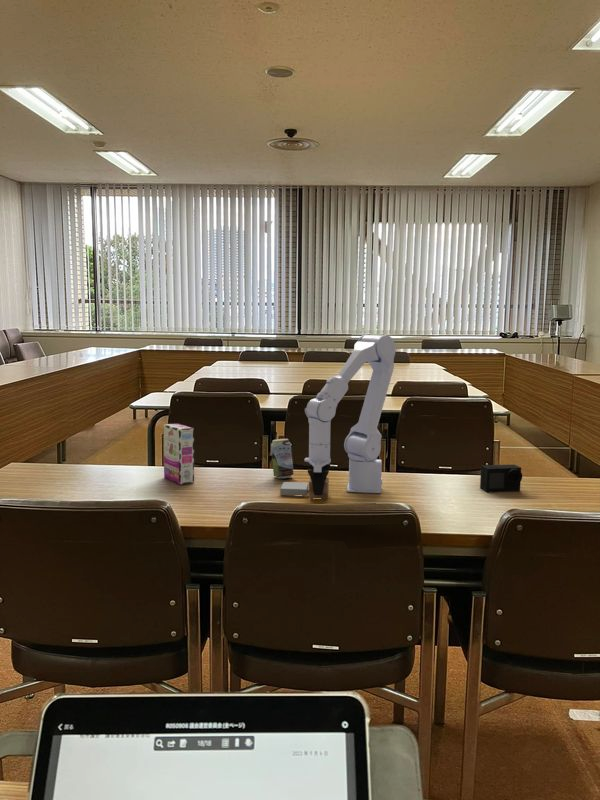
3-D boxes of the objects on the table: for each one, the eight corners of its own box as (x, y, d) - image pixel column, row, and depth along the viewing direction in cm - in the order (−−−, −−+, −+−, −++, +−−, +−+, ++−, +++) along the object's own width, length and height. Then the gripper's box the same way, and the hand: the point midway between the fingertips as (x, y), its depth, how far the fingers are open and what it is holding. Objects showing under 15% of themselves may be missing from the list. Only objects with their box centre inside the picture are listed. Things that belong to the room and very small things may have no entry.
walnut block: (328, 495, 178) (328, 477, 178) (327, 500, 173) (327, 482, 173) (310, 494, 179) (310, 476, 178) (308, 499, 174) (309, 481, 173)
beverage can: (285, 481, 192) (285, 442, 190) (266, 477, 196) (266, 438, 195) (298, 477, 197) (298, 438, 195) (279, 473, 201) (279, 435, 200)
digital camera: (488, 493, 182) (489, 469, 181) (479, 488, 187) (480, 465, 186) (522, 492, 183) (523, 468, 182) (513, 487, 189) (514, 464, 188)
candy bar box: (195, 483, 190) (194, 427, 187) (179, 485, 187) (179, 429, 184) (178, 475, 198) (177, 422, 196) (163, 477, 195) (162, 424, 193)
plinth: (308, 489, 183) (308, 482, 183) (306, 496, 176) (306, 489, 176) (283, 488, 184) (283, 482, 184) (280, 495, 177) (280, 488, 177)
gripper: (307, 437, 182) (306, 484, 184) (302, 448, 167) (301, 498, 169) (332, 438, 181) (331, 485, 183) (329, 448, 167) (328, 499, 169)
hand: (318, 492), depth 176 cm, fingers closed on walnut block, 5 cm apart
